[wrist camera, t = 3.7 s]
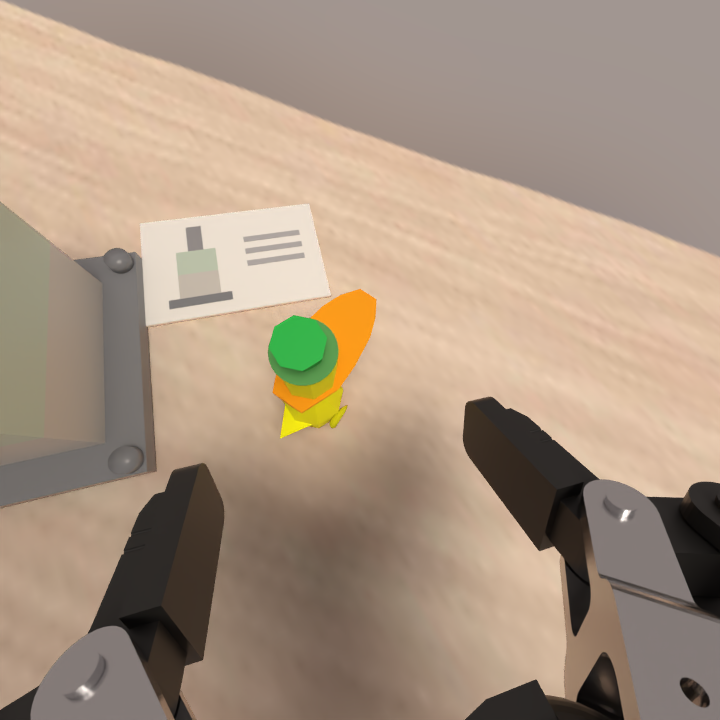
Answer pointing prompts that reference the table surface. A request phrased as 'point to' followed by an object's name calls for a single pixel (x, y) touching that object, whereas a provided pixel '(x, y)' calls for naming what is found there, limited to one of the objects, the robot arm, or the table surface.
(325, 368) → the toy figure
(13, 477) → the cube on base plate
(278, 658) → the table surface
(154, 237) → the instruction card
